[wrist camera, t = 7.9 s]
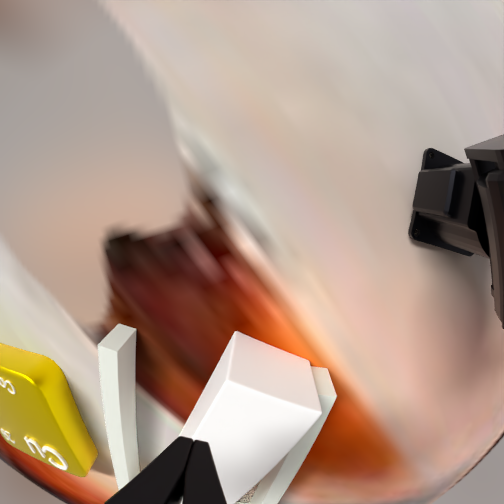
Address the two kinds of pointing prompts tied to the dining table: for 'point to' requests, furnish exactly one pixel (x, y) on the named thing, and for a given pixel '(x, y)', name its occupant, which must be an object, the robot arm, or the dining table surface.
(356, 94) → the dining table surface
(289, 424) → the milk
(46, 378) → the element tile
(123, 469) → the u rest
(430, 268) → the dining table surface
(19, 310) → the dining table surface
